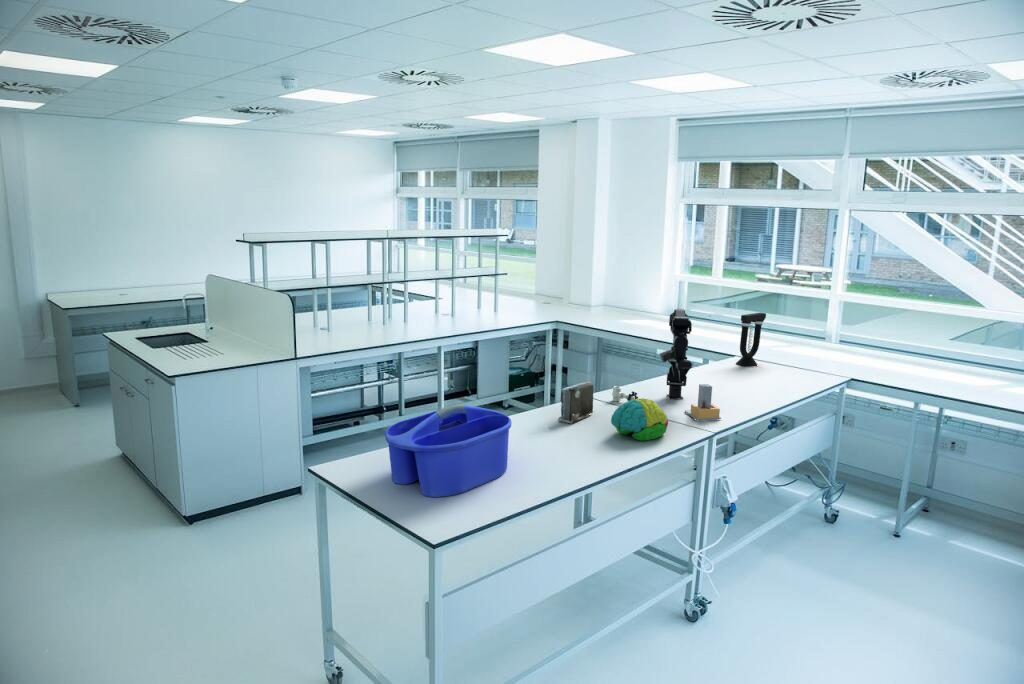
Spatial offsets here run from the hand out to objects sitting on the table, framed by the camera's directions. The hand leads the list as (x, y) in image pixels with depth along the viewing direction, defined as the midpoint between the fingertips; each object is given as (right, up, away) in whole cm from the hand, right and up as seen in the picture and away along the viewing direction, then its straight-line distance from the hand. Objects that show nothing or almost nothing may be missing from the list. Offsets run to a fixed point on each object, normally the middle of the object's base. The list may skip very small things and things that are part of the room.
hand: (677, 379), depth 289 cm
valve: (-23, -12, +9) cm, 27 cm away
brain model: (-25, -20, -36) cm, 48 cm away
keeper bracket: (+8, -15, -10) cm, 20 cm away
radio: (-47, -16, -12) cm, 51 cm away
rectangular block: (+8, -15, -12) cm, 20 cm away
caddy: (-95, -27, -75) cm, 124 cm away
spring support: (+64, +3, +90) cm, 110 cm away
